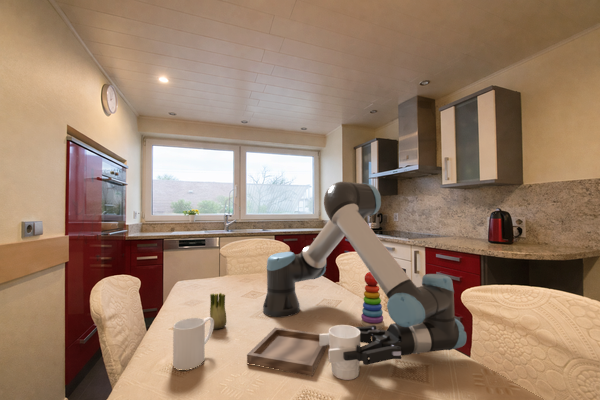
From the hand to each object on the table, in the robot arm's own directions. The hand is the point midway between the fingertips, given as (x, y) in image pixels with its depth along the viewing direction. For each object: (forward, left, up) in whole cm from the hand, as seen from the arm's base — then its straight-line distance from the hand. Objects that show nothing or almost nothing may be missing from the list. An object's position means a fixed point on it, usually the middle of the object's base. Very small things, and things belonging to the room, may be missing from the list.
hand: (324, 347), depth 66 cm
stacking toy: (+9, +33, -7) cm, 35 cm away
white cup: (+5, +3, -7) cm, 9 cm away
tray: (-12, +7, -6) cm, 15 cm away
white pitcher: (-36, -4, -7) cm, 37 cm away
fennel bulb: (-43, +16, -7) cm, 46 cm away
